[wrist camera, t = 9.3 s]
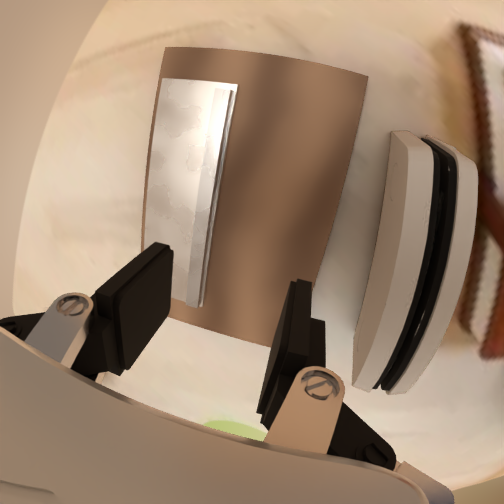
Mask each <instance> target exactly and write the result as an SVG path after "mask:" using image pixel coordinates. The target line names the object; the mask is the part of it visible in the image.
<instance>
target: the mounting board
mask: <svg viewBox="0 0 504 504" xmlns="http://www.w3.org/2000/svg"><path fill="white" fill-rule="evenodd" d="M162 78H169V79H187V80H200V81H211V82H220V83H229V84H237V85H239V89H238V94H237V99H236V104H235V109H234V114H233V120H232V125H231V130H230V136H229V141H228V147H227V153H226V159H225V164H224V170H223V176H222V182H221V188H220V195H219V201H218V207H217V214H216V220H215V227H214V234H213V241H212V247H211V255H210V262H209V269H208V277H207V284H206V292H205V300H204V305H203V307H200V306H199V307H198V308H194V307H191V306H188V305H186V302H184V301H181V300H177V299H174V298H171V308H170V312H169V314H168V316H167V317H170V318H173V319H176V320H179V321H182V322H185V323H188V324H192V325H195V326H198V327H201V328H204V329H207V330H211V331H214V332H217V333H221V334H224V335H227V336H231V337H234V338H238V339H241V340H245V341H248V342H252V343H256V344H259V345H263V346H267V347H271V346H272V342H273V339H274V335H275V332H276V329H277V325H278V322H279V319H280V315H281V312H282V309H283V305H284V302H285V298H286V295H287V291H288V288H289V284H290V281H294V282H296V280H297V278H298V279H302V280H306V281H310V282H312V290H313V287H314V284H315V281H316V278H317V275H318V272H319V268H320V265H321V262H322V259H323V256H324V252H325V249H326V246H327V242H328V239H329V236H330V232H331V229H332V225H333V222H334V218H335V215H336V211H337V208H338V204H339V200H340V197H341V193H342V189H343V185H344V182H345V178H346V174H347V170H348V166H349V162H350V158H351V154H352V150H353V146H354V141H355V137H356V133H357V128H358V124H359V119H360V115H361V110H362V105H363V101H364V96H365V91H366V86H367V81H368V76H365V75H362V74H358V73H355V72H351V71H348V70H344V69H340V68H336V67H332V66H328V65H323V64H319V63H314V62H310V61H305V60H300V59H294V58H289V57H283V56H277V55H270V54H263V53H256V52H247V51H238V50H227V49H213V48H191V47H165V51H164V56H163V61H162V65H161V70H160V76H159V81H158V87H157V92H156V98H155V104H154V111H153V117H152V124H151V132H150V139H149V147H148V156H147V166H146V176H145V187H144V201H143V216H142V237H141V252H143V251H144V235H145V216H146V201H147V188H148V177H149V167H150V158H151V149H152V141H153V133H154V126H155V119H156V112H157V106H158V100H159V94H160V88H161V83H162Z"/></svg>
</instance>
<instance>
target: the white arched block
mask: <svg viewBox="0 0 504 504" xmlns="http://www.w3.org/2000/svg"><path fill="white" fill-rule="evenodd" d="M477 196H478V171H477V168H476V165H475V163H474V162H473V161H472V160H470V159H469V158H467V157H466V156H464V155H463V154H461V153H460V152H458V151H456V148H455V147H453V146H451V145H448V144H446V143H444V142H442V141H440V140H438V139H435V138H433V137H431V136H428V135H426V139H424V138H421V140H420V139H419V138H418V137H416V136H415V135H413V134H412V133H410V132H409V131H391V141H390V152H389V161H388V170H387V178H386V186H385V193H384V200H383V207H382V213H381V219H380V225H379V231H378V236H377V241H376V247H375V252H374V257H373V262H372V266H371V271H370V275H369V280H368V284H367V289H366V293H365V297H364V301H363V305H362V309H361V313H360V317H359V320H358V324H357V328H356V331H355V335H354V341H353V371H352V386H353V387H356V388H358V389H361V390H364V391H366V392H370V391H371V389H377V388H378V387H379V385H380V384H381V389H382V390H386V394H388V395H391V394H402V393H406V392H407V391H408V390H409V389H410V388H411V387H412V386H413V385H414V383H415V382H416V381H417V380H418V378H419V377H420V376H421V374H422V373H423V372H424V370H425V369H426V367H427V365H428V364H429V362H430V360H431V359H432V357H433V355H434V354H435V352H436V350H437V348H438V346H439V345H440V343H441V341H442V338H443V336H444V334H445V332H446V330H447V328H448V325H449V323H450V320H451V318H452V315H453V313H454V310H455V307H456V304H457V301H458V299H459V296H460V293H461V289H462V286H463V283H464V279H465V275H466V271H467V267H468V262H469V258H470V253H471V248H472V243H473V237H474V230H475V221H476V211H477Z"/></svg>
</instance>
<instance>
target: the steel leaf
mask: <svg viewBox="0 0 504 504" xmlns="http://www.w3.org/2000/svg"><path fill="white" fill-rule="evenodd" d="M238 89H239V85H237V84H229V83H220V82H211V81H200V80H187V79H169V78H162V83H161V88H160V94H159V100H158V106H157V112H156V119H155V126H154V133H153V141H152V149H151V158H150V167H149V177H148V188H147V201H146V216H145V235H144V250H145V249H146V248H148V247H149V246H150V245H151V244H153V243H154V242H159V243H163V244H167V245H169V246H170V249H171V250H173V251H174V259H173V273H172V290H171V298H174V299H177V300H181V301H184V302H186V305H188V306H191V307H194V308H198V307H199V306H200V307H203V305H204V300H205V292H206V284H207V277H208V269H209V262H210V255H211V247H212V241H213V234H214V227H215V220H216V214H217V207H218V201H219V195H220V188H221V182H222V176H223V170H224V164H225V159H226V153H227V147H228V141H229V136H230V130H231V125H232V120H233V114H234V109H235V104H236V99H237V94H238Z"/></svg>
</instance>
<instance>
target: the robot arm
mask: <svg viewBox="0 0 504 504" xmlns="http://www.w3.org/2000/svg"><path fill="white" fill-rule="evenodd" d="M173 259H174V251H173V250H171V249H170V246H169V245H167V244H163V243H159V242H154V243H153V244H151V245H150V246H149V247H148V248H146V249H145V250H144V251H143V252H141V253H140V254H139V255H138V256H137V257H135V258H134V259H133V260H132V261H130V262H129V263H128V264H127V265H126V266H124V267H123V268H122V269H121V270H120V271H118V272H117V273H116V274H115V275H114V276H112V277H111V278H110V279H109V280H108V281H107V282H105V283H104V284H103V285H102V286H101V287H100V288H98V289H97V290H96V291H95V294H93V295H92V296H91V297H88V296H87V295H85V294H82V293H67V294H64V295H62V296H60V297H58V298H57V299H56V300H55V301H54V302H53V303H52V305H51V306H50V307H49V308H48V310H47V311H46V312H44V313H36V314H28V315H21V316H13V317H7V318H3V319H1V320H0V504H454V503H455V502H454V496H453V494H452V492H451V490H449V489H448V488H447V487H446V486H444V485H442V484H441V483H439V482H437V481H436V480H434V479H432V478H431V477H429V476H427V475H426V474H424V473H423V472H421V471H419V470H418V469H416V468H415V467H413V466H411V465H410V464H408V463H407V462H405V461H404V462H402V463H399V462H398V461H396V455H395V452H394V450H393V448H392V447H391V446H390V445H389V444H388V443H387V442H386V441H385V440H384V439H383V438H382V437H380V436H379V435H378V434H377V433H376V432H375V431H374V430H373V429H372V428H371V427H369V426H368V425H367V424H366V423H365V422H364V421H363V420H362V419H361V418H360V417H359V416H358V415H356V414H355V413H354V412H353V411H352V410H351V409H350V408H349V407H348V406H347V405H346V404H345V403H344V402H343V398H344V394H345V386H344V383H343V381H342V380H341V378H340V377H339V376H338V375H337V374H335V373H334V372H333V371H331V370H329V369H327V368H326V343H325V321H322V320H318V319H314V318H311V298H312V282H310V281H306V280H302V279H298V278H297V280H296V282H294V281H290V284H289V288H288V291H287V295H286V298H285V302H284V305H283V309H282V312H281V315H280V319H279V322H278V325H277V329H276V332H275V335H274V339H273V342H272V346H271V351H270V355H269V360H268V364H267V369H266V373H265V378H264V382H263V386H262V391H261V395H260V399H259V403H258V407H257V412H256V413H258V414H262V417H261V422H260V423H261V424H263V425H264V426H265V427H266V429H267V430H268V433H267V435H266V437H265V439H264V441H263V442H262V441H257V440H253V439H249V438H245V437H241V436H238V435H234V434H230V433H226V432H223V431H220V430H216V429H212V428H210V427H206V426H203V425H200V424H197V423H194V422H191V421H188V420H185V419H182V418H179V417H177V416H174V415H171V414H168V413H166V412H163V411H160V410H158V409H155V408H153V407H150V406H148V405H145V404H143V403H140V402H138V401H136V400H133V399H131V398H129V397H126V396H124V395H122V394H120V393H117V392H115V391H113V390H111V389H109V388H107V387H105V386H102V385H101V383H102V380H103V378H104V374H105V372H107V371H109V372H111V373H114V374H116V375H118V376H120V375H121V374H122V373H123V371H124V370H125V369H126V370H129V369H130V368H131V366H132V365H133V364H134V362H135V361H136V359H137V358H138V356H139V355H140V354H141V352H142V351H143V349H144V348H145V347H146V345H147V344H148V342H149V341H150V340H151V338H152V337H153V336H154V334H155V333H156V331H157V330H158V329H159V327H160V326H161V324H162V323H163V322H164V320H165V319H166V318H167V316H168V314H169V312H170V308H171V290H172V273H173Z"/></svg>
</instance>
